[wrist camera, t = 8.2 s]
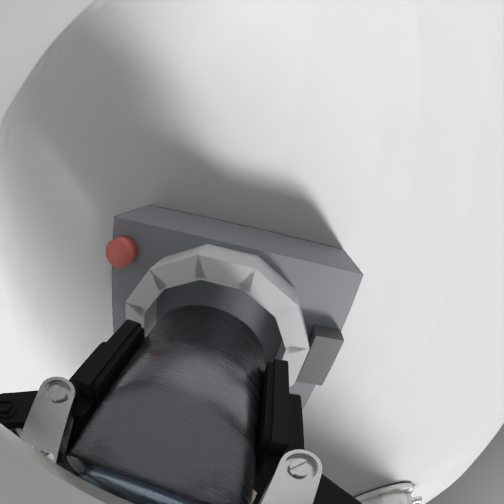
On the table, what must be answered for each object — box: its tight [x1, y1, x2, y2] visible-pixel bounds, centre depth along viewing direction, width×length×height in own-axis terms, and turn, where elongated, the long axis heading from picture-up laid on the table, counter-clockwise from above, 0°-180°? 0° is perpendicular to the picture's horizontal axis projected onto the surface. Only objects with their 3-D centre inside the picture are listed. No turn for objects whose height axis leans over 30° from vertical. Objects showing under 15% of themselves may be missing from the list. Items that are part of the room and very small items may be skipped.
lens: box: [67, 305, 265, 504], centre depth 7 cm, size 5×5×7 cm
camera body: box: [106, 205, 363, 407], centre depth 14 cm, size 12×9×6 cm
